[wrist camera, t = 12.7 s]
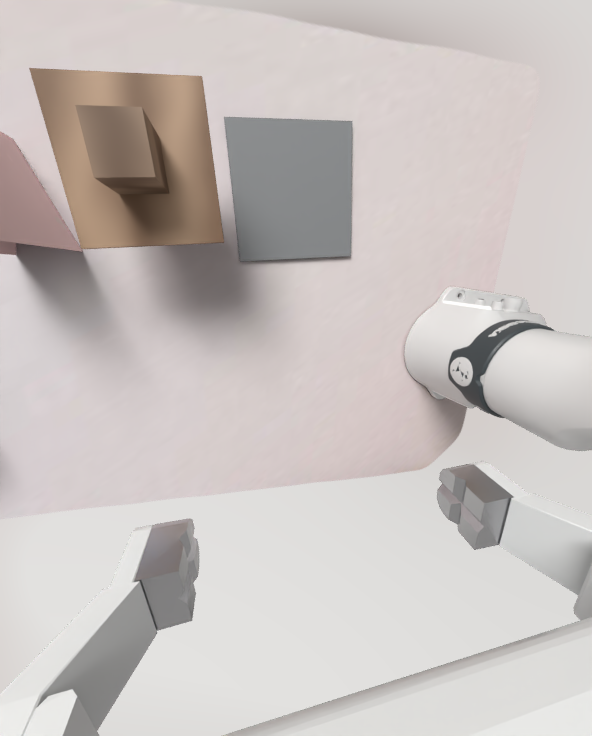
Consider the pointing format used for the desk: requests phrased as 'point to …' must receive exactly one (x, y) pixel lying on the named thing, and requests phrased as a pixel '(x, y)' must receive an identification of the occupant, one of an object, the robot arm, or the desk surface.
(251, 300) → the desk surface
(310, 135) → the rubber mat
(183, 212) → the walnut lid
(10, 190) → the greeting card
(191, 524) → the robot arm
